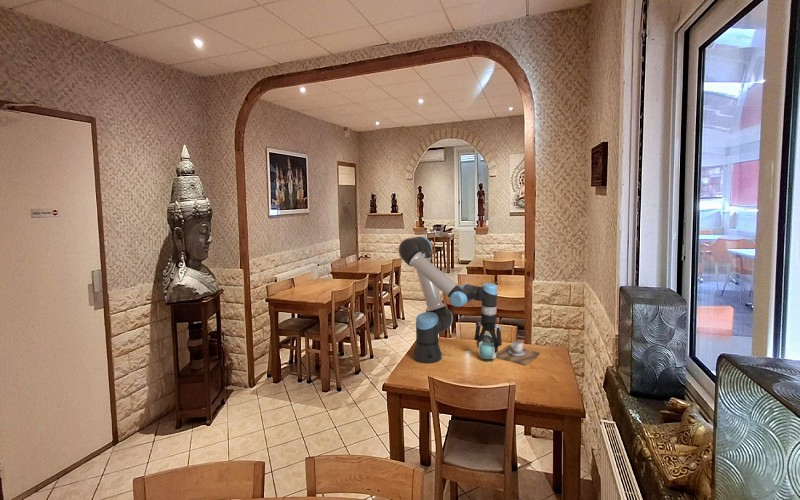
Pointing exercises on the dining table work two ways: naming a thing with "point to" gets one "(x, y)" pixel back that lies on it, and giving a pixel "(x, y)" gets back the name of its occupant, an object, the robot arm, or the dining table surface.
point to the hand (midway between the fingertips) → (487, 355)
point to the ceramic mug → (487, 338)
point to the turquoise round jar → (486, 350)
